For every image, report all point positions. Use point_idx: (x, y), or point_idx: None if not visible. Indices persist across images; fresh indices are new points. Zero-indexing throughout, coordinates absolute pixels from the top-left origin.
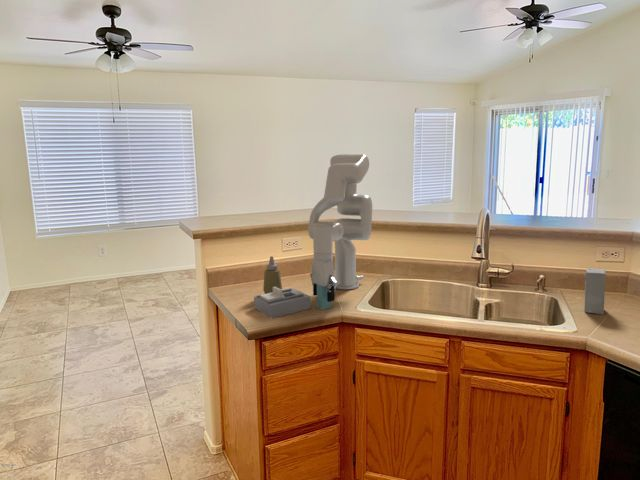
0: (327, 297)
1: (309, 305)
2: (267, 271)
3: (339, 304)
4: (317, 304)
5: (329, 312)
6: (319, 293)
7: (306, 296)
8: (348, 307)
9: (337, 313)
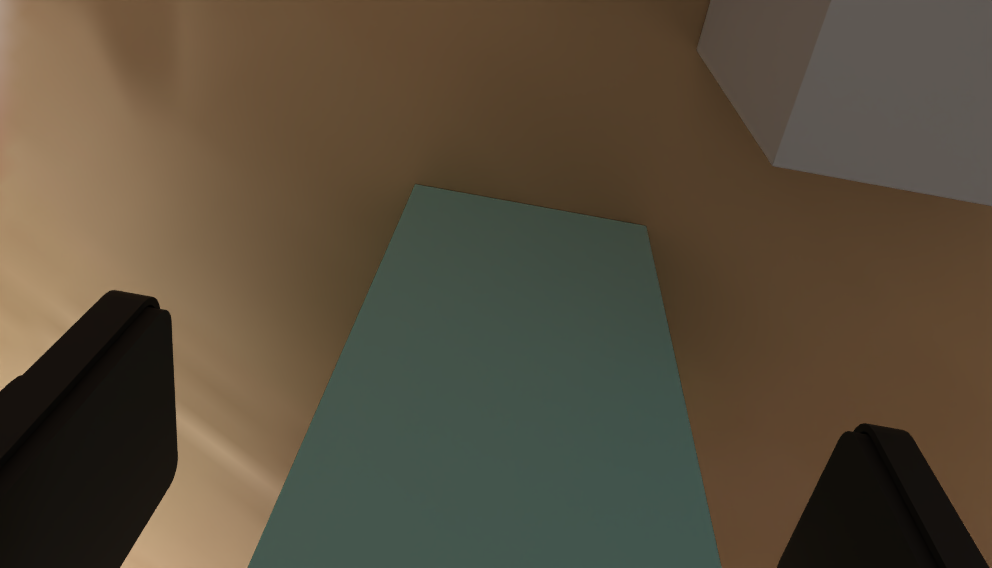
0: (70, 362)
1: (723, 25)
2: None
3: None
4: (630, 252)
5: (163, 148)
6: (518, 443)
7: (920, 38)
8: (185, 539)
9: (15, 214)
